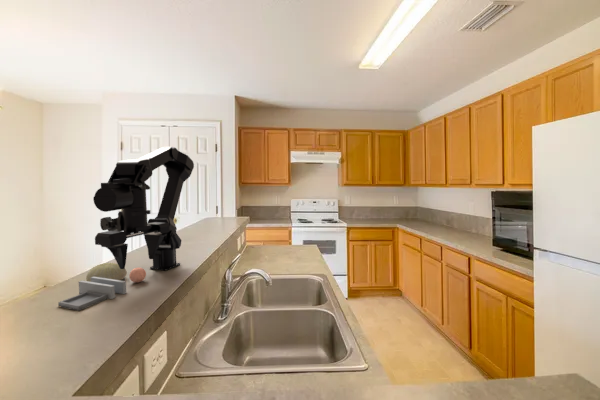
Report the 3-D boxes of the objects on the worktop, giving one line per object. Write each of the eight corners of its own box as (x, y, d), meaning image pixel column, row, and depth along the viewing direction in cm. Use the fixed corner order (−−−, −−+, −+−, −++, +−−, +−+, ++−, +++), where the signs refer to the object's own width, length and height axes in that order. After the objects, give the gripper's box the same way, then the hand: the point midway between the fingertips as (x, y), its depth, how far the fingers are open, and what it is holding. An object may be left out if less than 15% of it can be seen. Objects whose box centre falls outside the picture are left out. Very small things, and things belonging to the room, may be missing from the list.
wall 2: (94, 287, 74) (93, 276, 74) (126, 292, 71) (125, 281, 70) (91, 288, 73) (90, 277, 73) (123, 294, 70) (122, 282, 70)
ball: (138, 278, 80) (138, 265, 80) (149, 280, 79) (149, 266, 79) (126, 283, 77) (125, 269, 76) (137, 285, 75) (136, 270, 75)
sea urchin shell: (109, 282, 73) (90, 259, 74) (92, 301, 75) (73, 278, 75) (136, 270, 82) (118, 250, 83) (121, 287, 84) (103, 268, 84)
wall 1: (82, 292, 71) (81, 280, 71) (115, 297, 68) (114, 285, 68) (79, 293, 70) (78, 281, 70) (112, 299, 67) (111, 286, 67)
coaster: (87, 295, 69) (87, 291, 69) (107, 298, 67) (106, 294, 67) (58, 306, 63) (58, 302, 63) (78, 310, 61) (78, 306, 61)
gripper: (140, 203, 88) (143, 252, 89) (76, 210, 70) (81, 271, 71) (169, 204, 84) (171, 255, 86) (110, 211, 67) (114, 276, 68)
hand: (137, 263), depth 78 cm, fingers open, 9 cm apart
